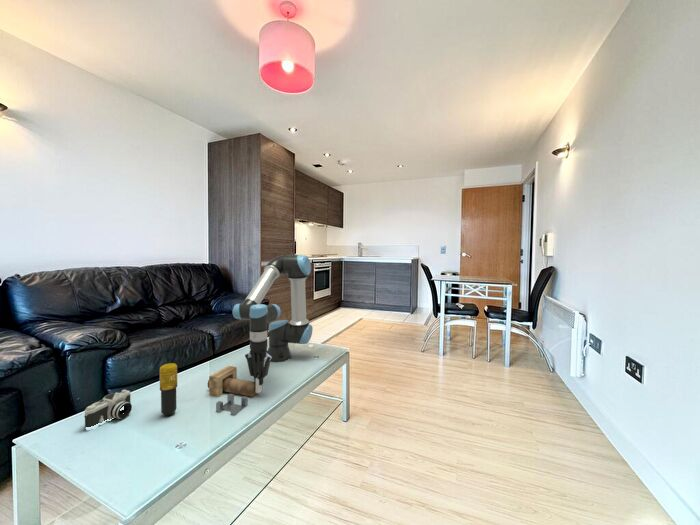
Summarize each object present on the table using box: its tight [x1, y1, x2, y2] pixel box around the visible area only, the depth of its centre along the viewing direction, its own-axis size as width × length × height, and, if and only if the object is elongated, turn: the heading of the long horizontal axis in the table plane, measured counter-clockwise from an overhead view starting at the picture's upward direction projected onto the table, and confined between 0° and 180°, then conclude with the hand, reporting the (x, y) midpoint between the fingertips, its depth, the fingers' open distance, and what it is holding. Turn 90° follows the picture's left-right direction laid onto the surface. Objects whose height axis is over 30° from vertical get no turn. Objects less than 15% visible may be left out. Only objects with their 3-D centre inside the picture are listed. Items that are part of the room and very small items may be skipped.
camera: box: [83, 389, 133, 428], centre depth 107 cm, size 16×9×10 cm, turn 168°
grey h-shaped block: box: [215, 393, 249, 416], centre depth 115 cm, size 8×9×4 cm
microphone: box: [159, 362, 178, 418], centre depth 111 cm, size 6×13×20 cm, turn 84°
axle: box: [207, 377, 259, 398], centre depth 129 cm, size 24×6×6 cm, turn 73°
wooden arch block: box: [208, 365, 238, 398], centre depth 131 cm, size 5×12×9 cm, turn 163°
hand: (258, 391), depth 125 cm, fingers closed
